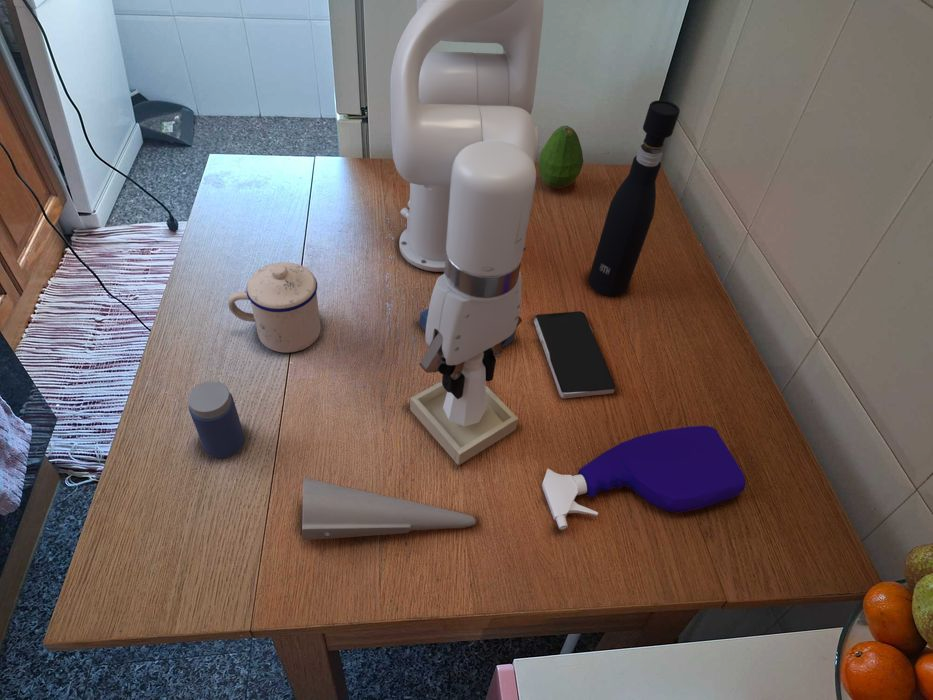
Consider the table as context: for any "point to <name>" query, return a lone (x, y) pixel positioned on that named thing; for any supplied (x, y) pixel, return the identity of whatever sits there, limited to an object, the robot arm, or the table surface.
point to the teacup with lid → (282, 306)
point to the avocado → (561, 158)
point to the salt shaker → (469, 394)
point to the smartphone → (573, 355)
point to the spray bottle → (654, 473)
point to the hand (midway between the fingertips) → (467, 381)
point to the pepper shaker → (216, 419)
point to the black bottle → (632, 207)
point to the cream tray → (462, 438)
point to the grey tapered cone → (368, 513)
